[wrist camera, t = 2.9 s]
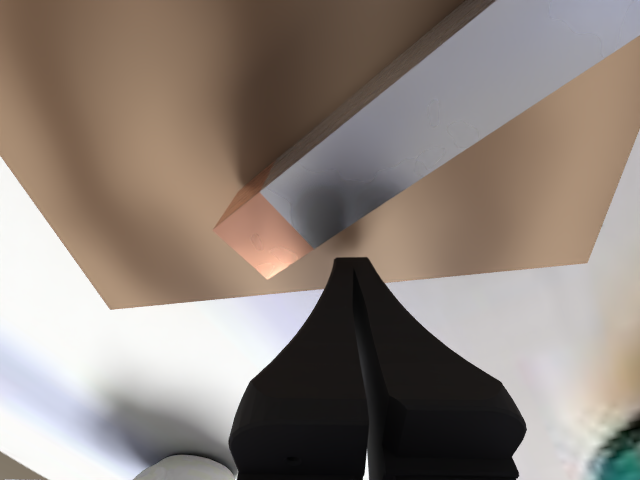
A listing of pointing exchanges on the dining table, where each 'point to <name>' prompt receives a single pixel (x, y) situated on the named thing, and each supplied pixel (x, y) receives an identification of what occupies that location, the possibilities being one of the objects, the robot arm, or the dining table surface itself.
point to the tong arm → (420, 118)
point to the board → (278, 143)
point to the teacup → (186, 469)
